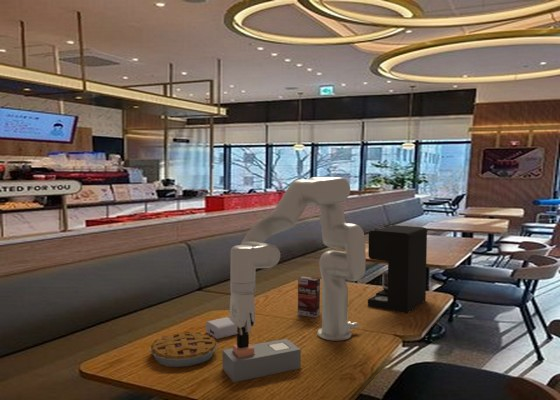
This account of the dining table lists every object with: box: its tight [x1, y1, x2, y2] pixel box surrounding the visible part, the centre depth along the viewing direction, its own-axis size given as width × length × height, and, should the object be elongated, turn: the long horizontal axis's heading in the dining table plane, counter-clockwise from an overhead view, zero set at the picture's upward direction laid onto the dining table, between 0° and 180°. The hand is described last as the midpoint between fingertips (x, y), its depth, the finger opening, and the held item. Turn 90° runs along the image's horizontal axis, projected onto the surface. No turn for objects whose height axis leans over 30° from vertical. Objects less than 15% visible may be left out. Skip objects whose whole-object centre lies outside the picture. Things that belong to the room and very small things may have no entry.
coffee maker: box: [367, 224, 428, 314], centre depth 213 cm, size 28×20×35 cm
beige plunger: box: [269, 343, 289, 351], centre depth 144 cm, size 5×5×6 cm
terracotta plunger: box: [232, 343, 254, 358], centre depth 139 cm, size 5×5×6 cm
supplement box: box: [297, 276, 321, 318], centre depth 194 cm, size 9×5×16 cm, turn 68°
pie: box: [150, 331, 218, 368], centre depth 153 cm, size 22×22×5 cm
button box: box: [222, 338, 302, 383], centre depth 142 cm, size 22×10×6 cm, turn 116°
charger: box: [205, 316, 237, 340], centre depth 175 cm, size 5×9×15 cm
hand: (242, 346), depth 139 cm, fingers closed
